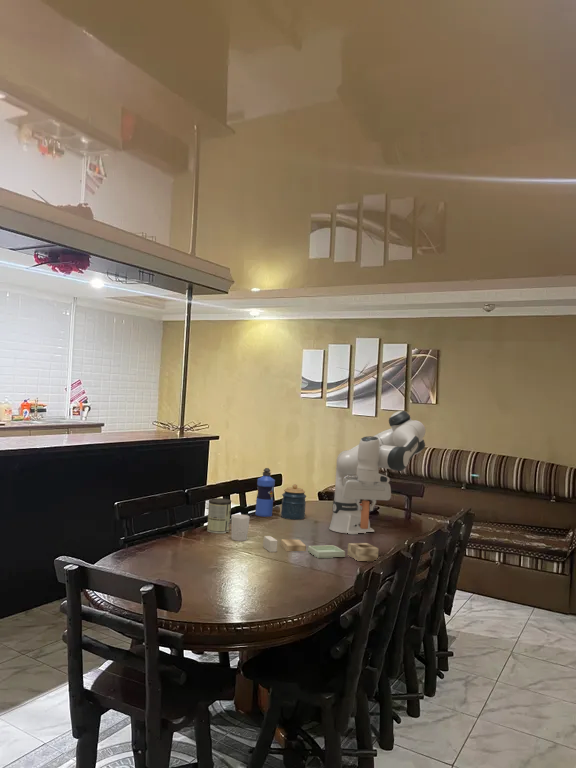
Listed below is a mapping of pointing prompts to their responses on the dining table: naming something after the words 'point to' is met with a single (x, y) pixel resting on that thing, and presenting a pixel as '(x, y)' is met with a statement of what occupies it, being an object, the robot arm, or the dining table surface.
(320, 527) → the dining table surface
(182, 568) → the dining table surface
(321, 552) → the tray
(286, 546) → the notched wooden block
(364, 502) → the dowel
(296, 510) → the canister
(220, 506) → the coffee can
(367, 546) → the socket block
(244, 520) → the white cup
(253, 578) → the dining table surface
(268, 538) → the white rectangular block
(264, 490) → the water bottle
